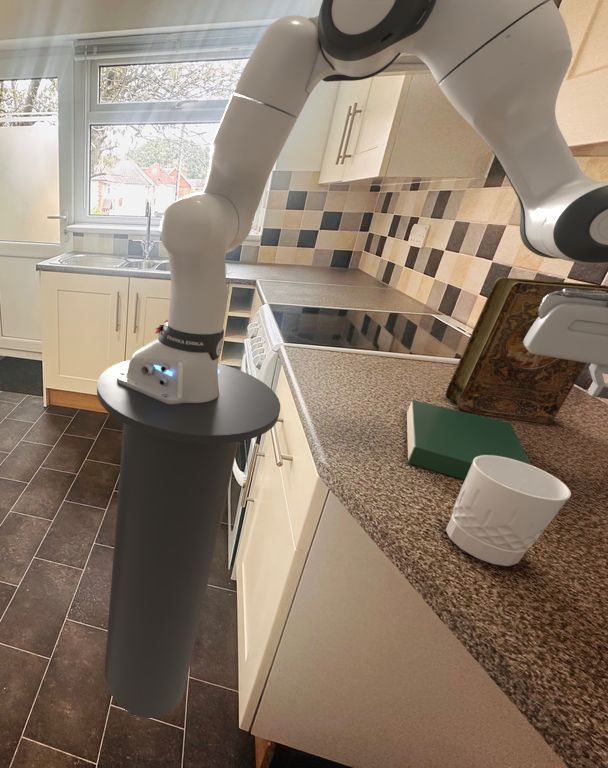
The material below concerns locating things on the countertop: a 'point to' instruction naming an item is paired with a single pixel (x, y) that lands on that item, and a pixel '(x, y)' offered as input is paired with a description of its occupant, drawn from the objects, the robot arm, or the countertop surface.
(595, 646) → the countertop surface
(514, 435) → the hardback
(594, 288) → the book
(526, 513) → the white cup
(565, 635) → the countertop surface
